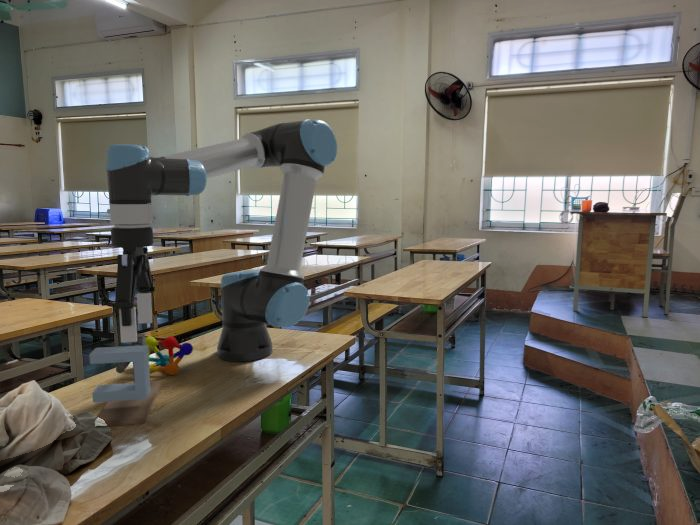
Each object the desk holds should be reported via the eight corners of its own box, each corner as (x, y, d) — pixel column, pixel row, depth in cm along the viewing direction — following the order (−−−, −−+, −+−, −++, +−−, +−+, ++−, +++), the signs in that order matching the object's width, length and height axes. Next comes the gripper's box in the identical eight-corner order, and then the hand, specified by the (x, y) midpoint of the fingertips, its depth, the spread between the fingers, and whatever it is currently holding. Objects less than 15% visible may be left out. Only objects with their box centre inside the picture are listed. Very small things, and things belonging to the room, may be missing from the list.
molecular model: (162, 375, 131) (201, 346, 127) (146, 398, 122) (187, 367, 118) (132, 346, 129) (171, 315, 125) (112, 367, 119) (154, 334, 115)
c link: (150, 391, 103) (147, 345, 102) (146, 399, 99) (143, 351, 98) (99, 394, 101) (95, 347, 100) (93, 402, 97) (89, 354, 96)
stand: (162, 385, 115) (158, 331, 113) (143, 423, 96) (139, 359, 94) (121, 388, 113) (117, 333, 111) (94, 427, 95) (89, 362, 93)
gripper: (127, 222, 107) (133, 317, 110) (89, 231, 83) (98, 352, 86) (164, 222, 109) (168, 315, 112) (136, 230, 84) (143, 350, 87)
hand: (137, 331), depth 99 cm, fingers open, 13 cm apart
